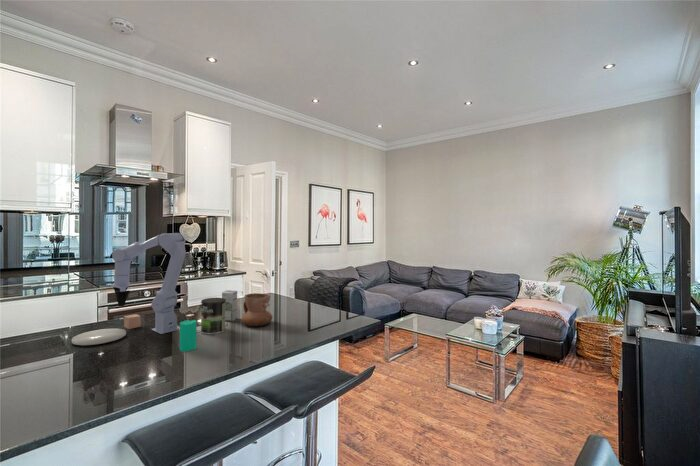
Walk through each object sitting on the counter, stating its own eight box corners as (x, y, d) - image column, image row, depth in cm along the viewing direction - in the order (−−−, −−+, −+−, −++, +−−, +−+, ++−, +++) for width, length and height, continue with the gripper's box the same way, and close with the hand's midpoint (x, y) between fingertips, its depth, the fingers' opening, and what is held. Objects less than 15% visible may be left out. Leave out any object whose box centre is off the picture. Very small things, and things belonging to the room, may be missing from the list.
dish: (133, 337, 140) (133, 334, 140) (80, 350, 125) (80, 346, 125) (116, 329, 150) (116, 325, 150) (65, 339, 136) (65, 336, 136)
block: (140, 326, 155) (140, 315, 155) (128, 329, 151) (128, 318, 151) (136, 324, 158) (136, 314, 158) (124, 327, 154) (124, 316, 154)
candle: (200, 347, 131) (200, 316, 131) (188, 352, 125) (188, 320, 125) (188, 344, 133) (188, 315, 132) (175, 350, 127) (175, 319, 127)
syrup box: (237, 318, 171) (237, 290, 171) (232, 321, 165) (232, 292, 165) (226, 317, 172) (227, 289, 171) (221, 321, 166) (221, 292, 166)
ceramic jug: (280, 324, 162) (280, 295, 162) (255, 331, 151) (255, 299, 151) (257, 318, 173) (257, 290, 173) (232, 324, 162) (232, 294, 162)
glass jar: (213, 336, 144) (213, 303, 144) (195, 332, 148) (195, 301, 147) (230, 329, 153) (230, 298, 153) (213, 326, 157) (213, 296, 157)
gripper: (110, 272, 156) (109, 301, 156) (112, 277, 145) (111, 308, 145) (128, 271, 160) (127, 299, 161) (131, 276, 149) (130, 307, 149)
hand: (120, 303), depth 153 cm, fingers open, 7 cm apart
